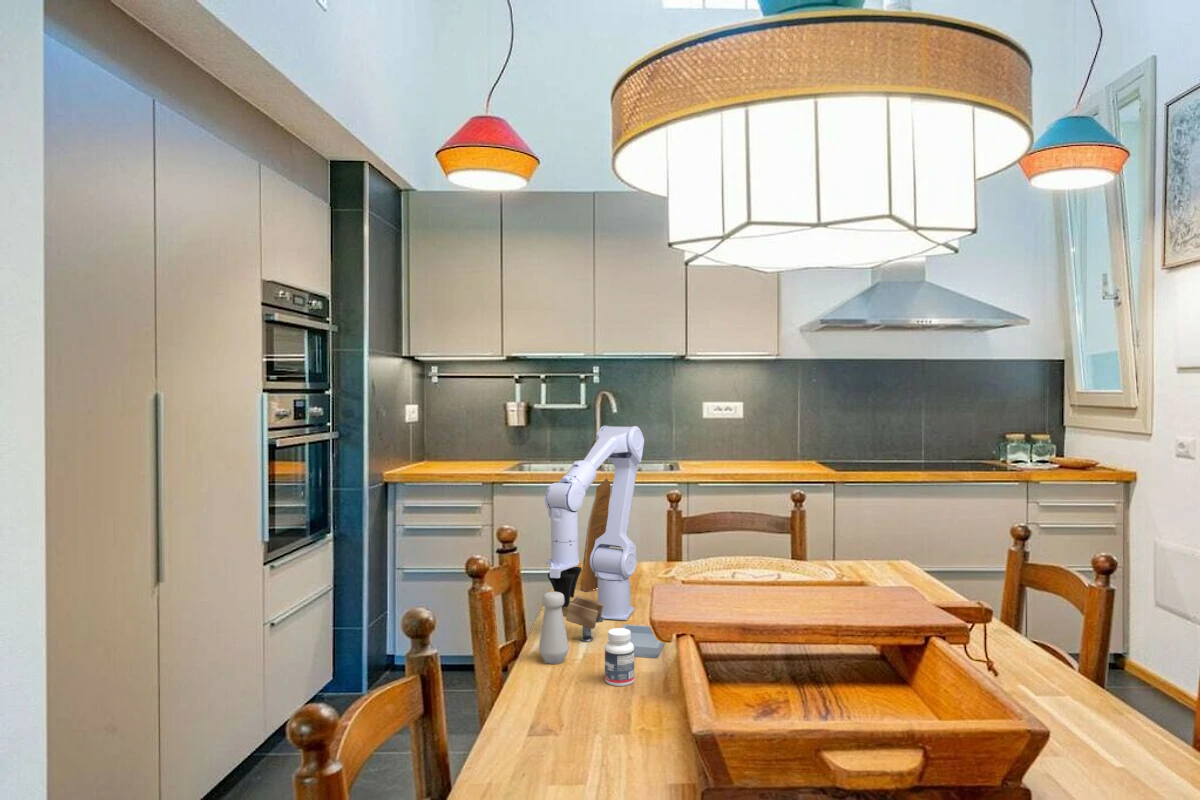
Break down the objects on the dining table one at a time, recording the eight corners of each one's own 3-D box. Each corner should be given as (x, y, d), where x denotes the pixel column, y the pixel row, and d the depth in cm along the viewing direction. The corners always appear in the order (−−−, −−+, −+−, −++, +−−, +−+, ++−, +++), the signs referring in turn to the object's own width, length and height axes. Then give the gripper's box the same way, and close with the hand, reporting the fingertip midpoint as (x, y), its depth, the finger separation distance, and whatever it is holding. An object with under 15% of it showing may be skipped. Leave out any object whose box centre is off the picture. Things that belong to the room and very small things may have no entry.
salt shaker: (571, 655, 141) (570, 589, 141) (567, 666, 136) (566, 597, 136) (541, 654, 142) (541, 588, 142) (536, 665, 136) (535, 596, 136)
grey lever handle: (582, 637, 152) (582, 614, 152) (604, 638, 151) (604, 615, 151) (579, 641, 150) (579, 618, 150) (601, 642, 149) (600, 619, 149)
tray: (624, 633, 154) (624, 624, 154) (668, 636, 152) (667, 627, 152) (610, 654, 142) (609, 644, 142) (657, 658, 140) (657, 648, 139)
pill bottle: (600, 677, 130) (600, 628, 130) (627, 673, 132) (627, 625, 132) (611, 688, 125) (610, 637, 125) (639, 684, 127) (638, 633, 127)
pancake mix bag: (619, 577, 204) (618, 478, 204) (599, 594, 186) (597, 485, 186) (596, 575, 206) (595, 477, 206) (574, 592, 188) (573, 485, 188)
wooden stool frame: (600, 620, 153) (603, 604, 153) (592, 629, 147) (596, 612, 147) (559, 607, 155) (562, 591, 155) (550, 615, 150) (554, 598, 149)
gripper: (556, 532, 160) (557, 593, 160) (535, 546, 146) (535, 613, 146) (587, 533, 158) (588, 595, 158) (568, 547, 144) (569, 615, 144)
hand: (565, 604), depth 152 cm, fingers closed on wooden stool frame, 2 cm apart
